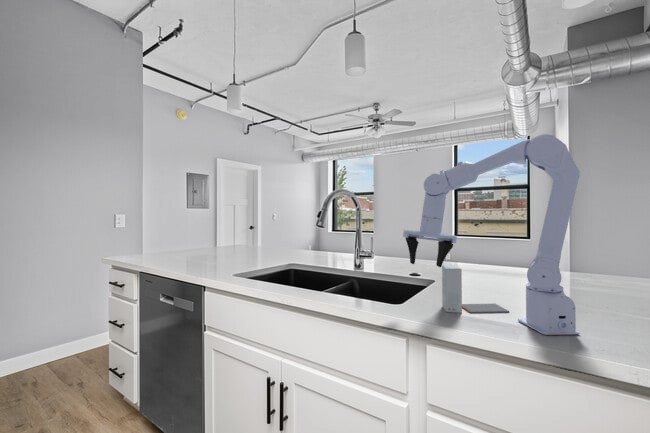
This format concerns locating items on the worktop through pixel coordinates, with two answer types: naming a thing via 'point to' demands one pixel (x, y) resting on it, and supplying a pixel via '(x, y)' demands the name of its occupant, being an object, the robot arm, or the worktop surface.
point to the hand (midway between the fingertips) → (425, 264)
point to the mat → (484, 308)
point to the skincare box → (452, 288)
